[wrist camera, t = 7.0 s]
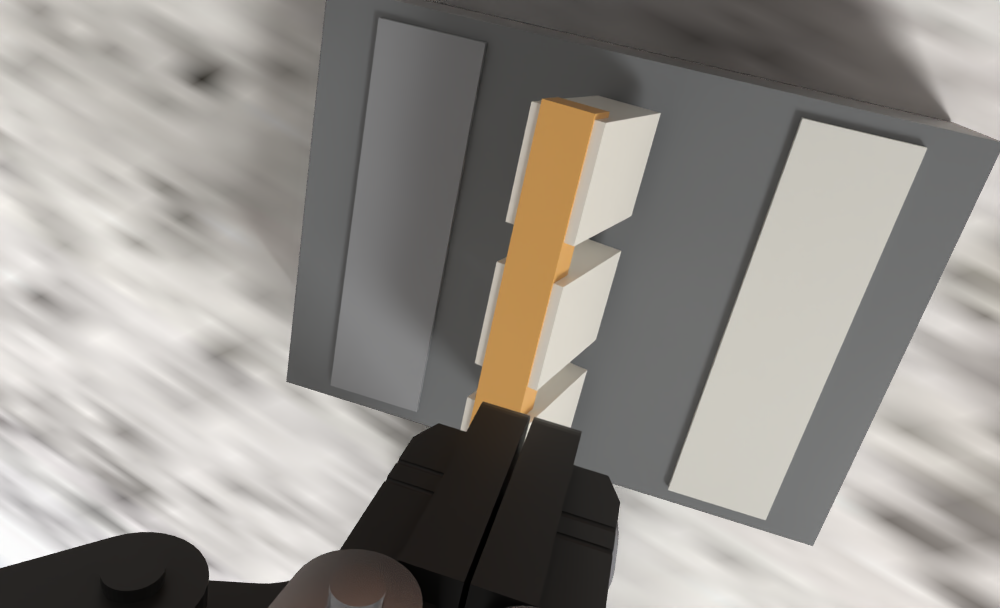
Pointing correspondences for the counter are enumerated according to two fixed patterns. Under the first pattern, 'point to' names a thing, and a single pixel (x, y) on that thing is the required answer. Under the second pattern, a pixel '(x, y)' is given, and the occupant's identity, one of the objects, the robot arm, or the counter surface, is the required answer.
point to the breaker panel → (628, 251)
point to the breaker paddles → (559, 252)
